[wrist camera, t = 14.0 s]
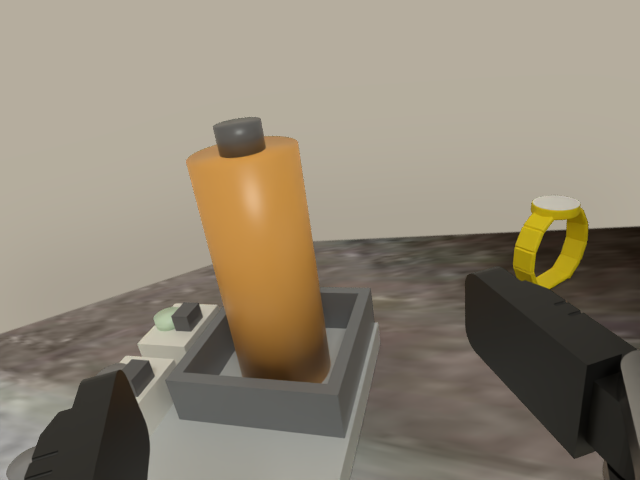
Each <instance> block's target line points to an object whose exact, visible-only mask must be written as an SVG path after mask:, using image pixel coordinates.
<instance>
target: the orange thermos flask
mask: <svg viewBox="0 0 640 480" xmlns="http://www.w3.org/2000/svg"><path fill="white" fill-rule="evenodd" d="M213 129H214V134H215V138H216V143H217V145H214V146H211V147H208V148H205V149H203V150H200V151H198V152H196V153H194V154H192V155H191V156H190V157H188V159H187V160H186V164H187V167H188V171H189V175H190V179H191V182H192V187H193V190H194V194H195V198H196V201H197V205H198V209H199V213H200V217H201V221H202V225H203V228H204V232H205V236H206V240H207V243H208V248H209V251H210V255H211V259H212V263H213V267H214V271H215V274H216V278H217V282H218V286H219V290H220V293H221V297H222V301H223V305H224V309H225V313H226V316H227V320H228V324H229V328H230V332H231V335H232V339H233V343H234V347H235V351H236V355H237V358H238V362H239V366H240V370H241V374H242V377H247V378H259V379H272V380H284V381H297V382H310V383H322V382H323V381H324V380H325V378H326V377H327V375H328V373H329V370H330V366H331V361H330V354H329V348H328V341H327V334H326V327H325V321H324V314H323V307H322V300H321V294H320V287H319V280H318V274H317V267H316V260H315V253H314V247H313V240H312V234H311V227H310V220H309V213H308V206H307V200H306V193H305V186H304V180H303V173H302V166H301V160H300V153H299V147H298V142H297V140H295V139H293V138H289V137H281V136H264V135H263V129H262V123H261V119H260V118H257V117H247V118H238V119H232V120H228V121H224V122H221V123H218V124H216V125H214V126H213Z"/></svg>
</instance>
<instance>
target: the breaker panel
mask: <svg viewBox="0 0 640 480" xmlns="http://www.w3.org/2000/svg"><path fill="white" fill-rule="evenodd" d="M320 294H321V300H322V307H323V314H324V321H325V327H326V334H327V341H328V348H329V354H330V361H331V366H330V370H329V373H328V375H327V377H326V378H325V380H324V381H323V382H322V383H310V382H297V381H284V380H272V379H259V378H247V377H242V374H241V370H240V366H239V362H238V358H237V355H236V351H235V347H234V343H233V339H232V335H231V332H230V328H229V324H228V320H227V316H226V313H225V309H224V305H223V306H222V308H221V309H220V310H219V308H218V305H206V304H199V303H185V302H184V303H183V304H174V306H173V307H169V308H165V309H163V310H161V311H159V312H158V313H157V314H156V315H155V316H154V322H155V326H154V327H153V328H152V329H151V330H150V331H149V332H148V333H147V334H146V335H145V336H144V337H143V338H142V339H141V340H140V342H139V343H138V344H137V345H138V347H139V350H140V352H141V355H142V357H136V356H125V357H124V358H123V360H122V361H121V362H120V363H117V364H113V365H110V366H108V367H106V368H104V369H103V370H101V371H100V372H99V373H98V374H97V375H96V376H98V375H102V374H105V373H109V372H113V371H116V370H122V371H123V372H124V373H125V375H126V377H127V379H128V381H129V384H130V386H131V388H132V391H133V393H134V395H135V398H136V400H137V402H138V405H139V407H140V409H141V412H142V414H143V417H144V419H145V421H146V424H147V428H148V433H149V439H150V457H149V467H148V478H147V480H350V476H351V471H352V467H353V462H354V458H355V454H356V449H357V445H358V440H359V436H360V431H361V427H362V423H363V418H364V414H365V409H366V405H367V401H368V396H369V392H370V387H371V383H372V378H373V374H374V370H375V365H376V361H377V356H378V352H379V347H380V334H379V325H378V323H375V322H374V313H373V304H372V296H371V288H342V287H320ZM35 448H36V446H35V447H32V448H30V449H28V450H26V451H24V452H23V453H21V454H20V455H19V456H17V457H16V458H15V459H14V460H13V461H12V462H11V464H10V465H9V467H8V469H7V472H6V475H7V478H8V479H9V480H24V476H25V474H26V471H27V469H28V466H29V463H32V459H31V458H32V456H33V453H34V450H35Z"/></svg>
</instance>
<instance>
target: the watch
mask: <svg viewBox="0 0 640 480" xmlns="http://www.w3.org/2000/svg"><path fill="white" fill-rule="evenodd" d="M531 204H532V205H531V212H532V215H531V216H530V217H529V218H528V220H527V221H526V222H525V224H524V227H522V229H521V232H520V234H519V237H518V239H517V242H516V244H515V246H516V247H515V248H514V259H513V268H514V271H515V274H516V277H517V278H518V279H519V280H520V281H524V280H526V281H529V282H532V283H534V284H537V285H540V286H543V287H546V288H548V289H551V288H553V287H554V286H556V285H558V284H559V283H561V282H563V281H564V280H566V279H570V277H571V276H572V275H573V273H574V271H575V270H576V268H577V266H578V265H579V263H580V260H581V259H582V256H583V253H584V250H585V247H586V244H587V242H586V241H587V240H588V221H587V218H586V215H585V213H584V210H583V209H582V208H580V205H581V204H580V202H579V201H578V200H576V199H574V198H571V197H567V196H558V195H549V196H541V197H538V198H536V199H534V200H533V201H532V203H531ZM566 219H567V229H566V236H567V237H566V238H565V242H564V245H563V248H562V251H561V254H560V255H559V257H558V259H557V260H556V262H555V264H554V265H553V267H552V268H551V269H550V270H548V271H546V272H544V273H543V274H541V275H539V276H538V277H535V273H534V267H535V258H536V252H537V250H538V247H539V245H540V242H541V240H542V237H543V235H544V233H545V231H546V230H547V229H548V227H549V226H550V225H551V224H552V222H553V221H554V220H566Z"/></svg>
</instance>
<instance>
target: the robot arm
mask: <svg viewBox="0 0 640 480" xmlns="http://www.w3.org/2000/svg"><path fill="white" fill-rule="evenodd" d="M465 326H466V333H467V337H468V339H469V342H470V344H471V346H472V348H473V349H474V351H475V352H476V353H477V354H478V355H479V356H480V357H481V359H482V360H483V361H484V362H485V363H486V364H487V365H488V366H489V367H490V368H491V369H492V370H493V371H494V373H495V374H496V375H497V376H498V377H499V378H500V379H501V380H502V381H503V382H504V383H505V384H506V386H507V387H508V388H509V389H510V390H511V391H512V392H513V393H514V394H515V395H516V396H517V397H518V398H519V400H520V401H521V402H522V403H523V404H524V405H525V406H526V407H527V408H528V409H529V410H530V411H531V413H532V414H533V415H534V416H535V417H536V418H537V419H538V420H539V421H540V422H541V423H542V424H543V425H544V427H545V428H546V429H547V430H548V431H549V432H550V433H551V434H552V435H553V436H554V437H555V438H556V440H557V441H558V442H559V443H560V444H561V445H562V446H563V447H564V448H565V449H566V450H567V451H568V452H569V454H570V455H571V456H572V457H573V458H574V459H575V458H578V457H581V456H584V455H586V454H589V453H592V452H594V451H596V452H597V453H598V454H599V455H600V456H601V457H602V458H603V459H604V462H603V478H604V480H640V349H639V350H637V349H636V348H634V347H633V346H631V345H630V344H629V343H627V342H626V341H624V340H623V339H621V338H620V337H618V336H617V335H615V334H614V333H612V332H611V331H610V330H608V329H607V328H605V327H604V326H602V325H601V324H599V323H598V322H596V321H595V320H593V319H592V318H590V317H589V316H588V315H586V314H585V313H582V314H581V312H580V310H579V309H577V308H576V307H574V306H573V305H571V304H570V303H566V302H565V300H564V299H563V298H561V297H560V296H558V295H557V294H555V293H554V292H552V291H551V290H550V289H548V288H546V287H543V286H540V285H537V284H534V283H532V282H529V281H526V280H524V281H520V280H519V279H518V278H516V277H515V276H513V275H512V274H511V273H509V272H508V271H506V270H505V269H504V268H502V267H499V266H497V267H493V268H489V269H486V270H482V271H478V272H475V273H471V274H469V275H467V277H466V280H465ZM149 457H150V439H149V433H148V428H147V424H146V421H145V419H144V417H143V414H142V412H141V409H140V407H139V405H138V402H137V400H136V398H135V395H134V393H133V391H132V388H131V386H130V384H129V381H128V379H127V377H126V375H125V373H124V372H123V371H122V370H116V371H113V372H109V373H105V374H102V375H98V376H95V377H91V378H87V379H84V380H82V381H81V383H80V385H79V388H78V391H77V395H76V398H75V401H74V404H73V407H72V408H71V409H68V410H64V411H61V412H59V413H58V414H57V415H56V416H55V417H54V419H53V420H52V421H51V422H50V424H49V425H48V426H47V427H46V429H45V430H44V431H43V432H42V434H41V435H40V437H39V440H38V442H37V445H36V448H35V450H34V453H33V456H32V458H31V459H32V463H29V466H28V469H27V471H26V474H25V476H24V480H147V478H148V467H149Z"/></svg>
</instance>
